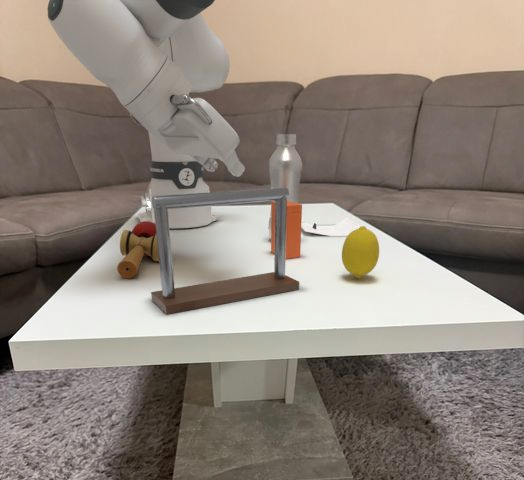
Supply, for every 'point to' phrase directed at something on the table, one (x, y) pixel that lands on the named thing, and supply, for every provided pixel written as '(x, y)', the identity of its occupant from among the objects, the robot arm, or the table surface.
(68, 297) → the table surface
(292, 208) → the orange u-shaped hook
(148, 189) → the robot arm
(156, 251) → the kendama
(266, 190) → the rail
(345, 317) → the table surface
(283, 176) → the silver metal bottle
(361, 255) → the lemon
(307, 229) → the folded paper
